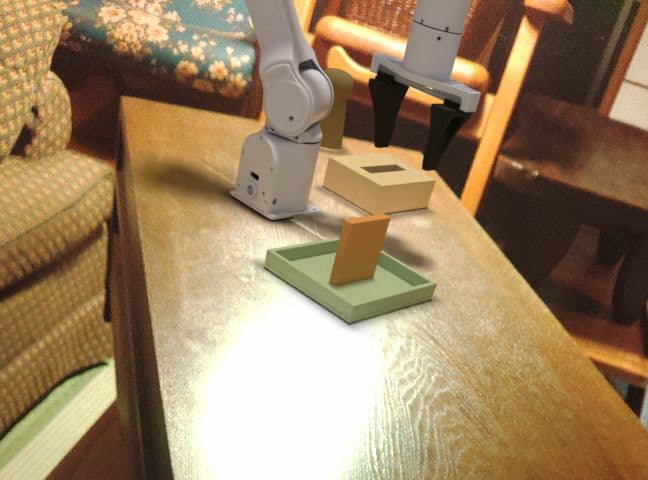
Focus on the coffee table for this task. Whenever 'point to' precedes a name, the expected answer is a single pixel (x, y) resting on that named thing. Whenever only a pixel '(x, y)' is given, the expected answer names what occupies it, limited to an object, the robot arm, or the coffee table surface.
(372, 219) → the toast
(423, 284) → the tray
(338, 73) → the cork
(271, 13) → the robot arm
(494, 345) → the coffee table surface
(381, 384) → the coffee table surface
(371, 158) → the toaster
